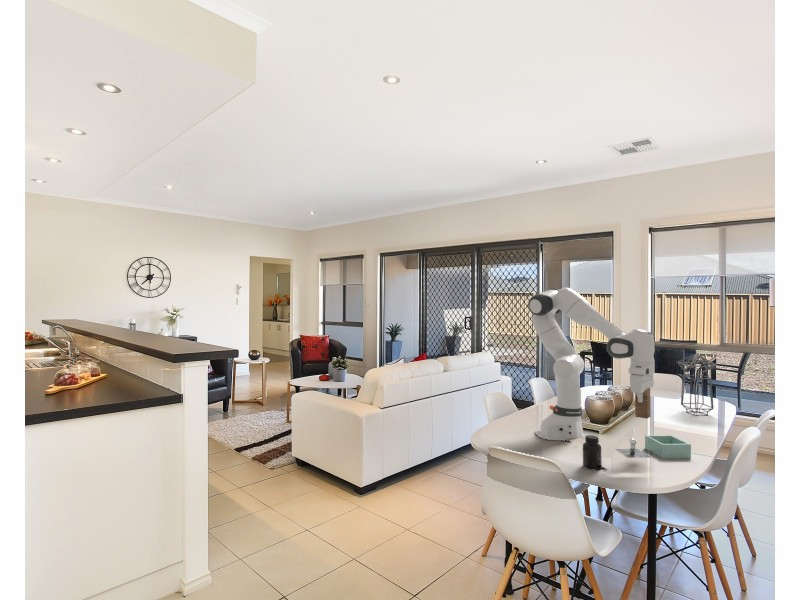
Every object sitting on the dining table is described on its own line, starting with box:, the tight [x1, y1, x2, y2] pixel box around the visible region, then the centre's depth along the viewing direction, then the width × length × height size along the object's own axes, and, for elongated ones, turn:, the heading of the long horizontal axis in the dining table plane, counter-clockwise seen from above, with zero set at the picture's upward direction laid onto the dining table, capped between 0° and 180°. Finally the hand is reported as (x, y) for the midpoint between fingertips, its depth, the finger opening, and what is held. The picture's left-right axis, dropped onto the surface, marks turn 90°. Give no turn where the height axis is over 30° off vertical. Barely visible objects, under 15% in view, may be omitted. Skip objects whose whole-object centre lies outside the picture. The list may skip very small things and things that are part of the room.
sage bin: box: [644, 434, 692, 460], centre depth 188 cm, size 12×12×7 cm
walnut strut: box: [634, 388, 652, 420], centre depth 187 cm, size 5×5×12 cm
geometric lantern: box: [675, 353, 718, 417], centre depth 258 cm, size 16×16×35 cm
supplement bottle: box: [582, 434, 603, 470], centre depth 175 cm, size 7×7×12 cm
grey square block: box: [615, 438, 651, 459], centre depth 187 cm, size 10×10×8 cm
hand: (642, 400), depth 187 cm, fingers closed on walnut strut, 5 cm apart
